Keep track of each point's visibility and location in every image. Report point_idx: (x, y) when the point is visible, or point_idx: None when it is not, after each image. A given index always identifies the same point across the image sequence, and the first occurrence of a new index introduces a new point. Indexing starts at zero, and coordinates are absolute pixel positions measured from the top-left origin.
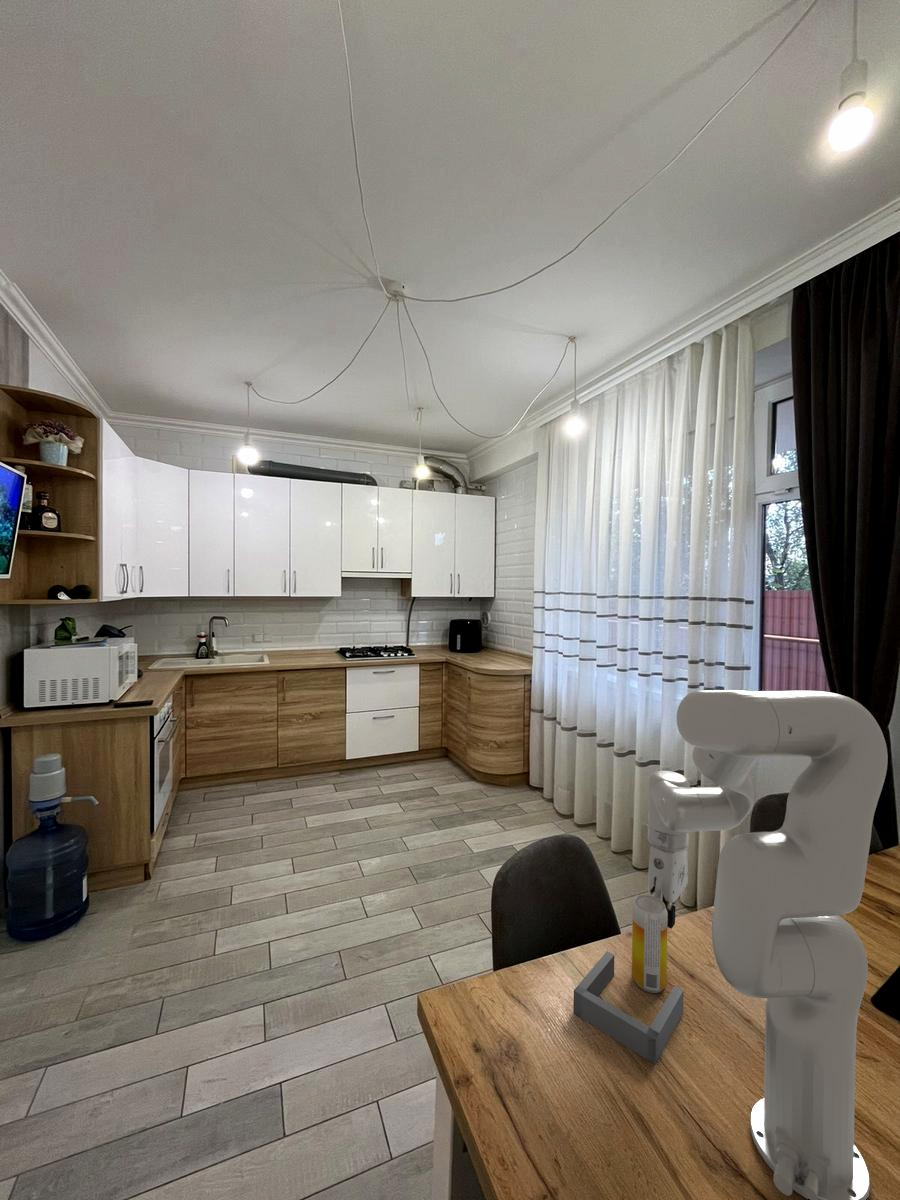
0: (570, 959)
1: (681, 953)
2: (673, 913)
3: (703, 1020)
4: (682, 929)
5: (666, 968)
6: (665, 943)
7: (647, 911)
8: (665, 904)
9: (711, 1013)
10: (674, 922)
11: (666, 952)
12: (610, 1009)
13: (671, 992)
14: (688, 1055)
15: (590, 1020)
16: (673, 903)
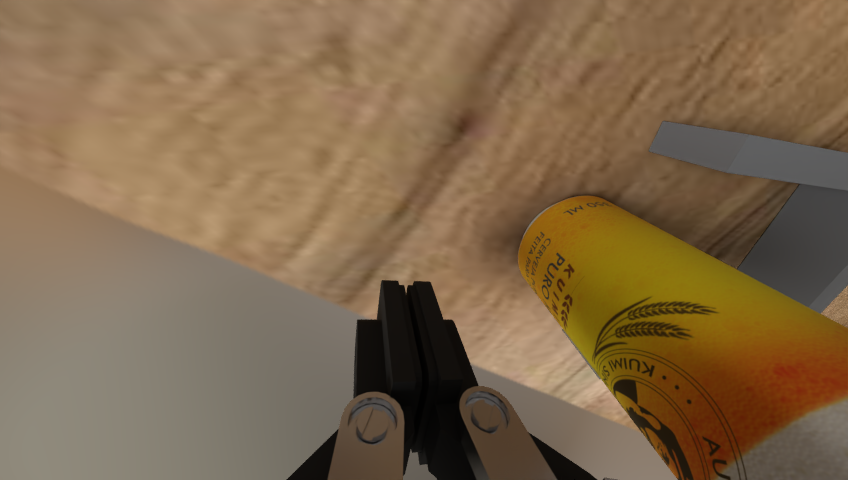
0: (551, 391)
1: (347, 185)
2: (436, 346)
3: (680, 47)
4: (166, 215)
5: (631, 221)
6: (784, 295)
7: None
8: (581, 477)
9: (641, 19)
10: (394, 290)
11: (700, 258)
12: (829, 298)
13: (763, 174)
14: (819, 76)
15: None
16: (402, 415)
